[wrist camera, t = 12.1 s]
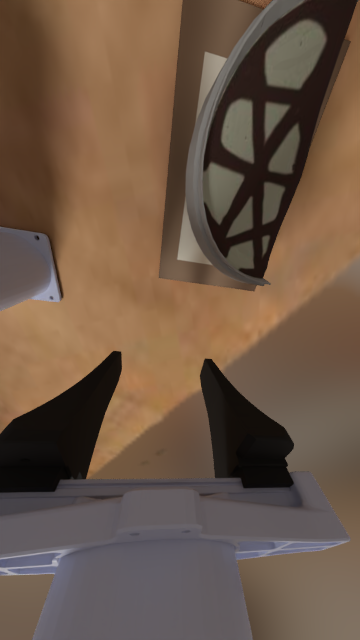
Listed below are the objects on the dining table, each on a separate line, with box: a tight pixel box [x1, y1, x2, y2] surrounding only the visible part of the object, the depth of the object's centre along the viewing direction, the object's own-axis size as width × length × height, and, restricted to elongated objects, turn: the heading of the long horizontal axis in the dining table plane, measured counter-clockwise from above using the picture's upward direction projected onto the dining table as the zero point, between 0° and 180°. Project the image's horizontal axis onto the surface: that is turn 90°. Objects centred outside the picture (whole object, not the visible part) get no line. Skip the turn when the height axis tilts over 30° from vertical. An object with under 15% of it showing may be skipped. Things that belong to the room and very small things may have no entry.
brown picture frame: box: [159, 0, 351, 291], centre depth 16 cm, size 13×20×1 cm, turn 171°
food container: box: [185, 0, 358, 286], centre depth 12 cm, size 12×6×10 cm, turn 175°
